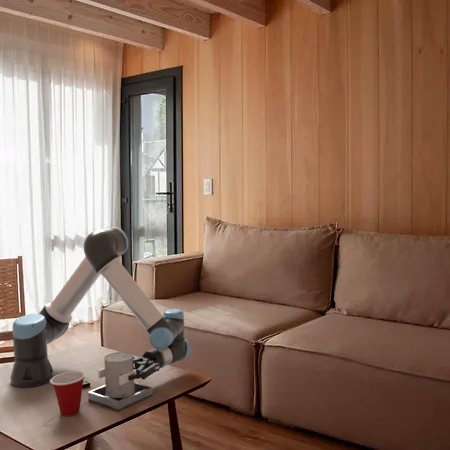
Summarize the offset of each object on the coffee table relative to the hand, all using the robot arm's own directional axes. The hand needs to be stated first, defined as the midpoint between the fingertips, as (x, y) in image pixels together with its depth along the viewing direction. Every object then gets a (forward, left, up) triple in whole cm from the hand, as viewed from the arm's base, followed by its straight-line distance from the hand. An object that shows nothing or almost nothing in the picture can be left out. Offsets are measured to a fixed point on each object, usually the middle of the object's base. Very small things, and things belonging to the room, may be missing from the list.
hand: (109, 377), depth 188 cm
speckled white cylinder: (0, +4, -7) cm, 8 cm away
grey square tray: (0, +4, -9) cm, 10 cm away
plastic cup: (-5, -13, -9) cm, 16 cm away
